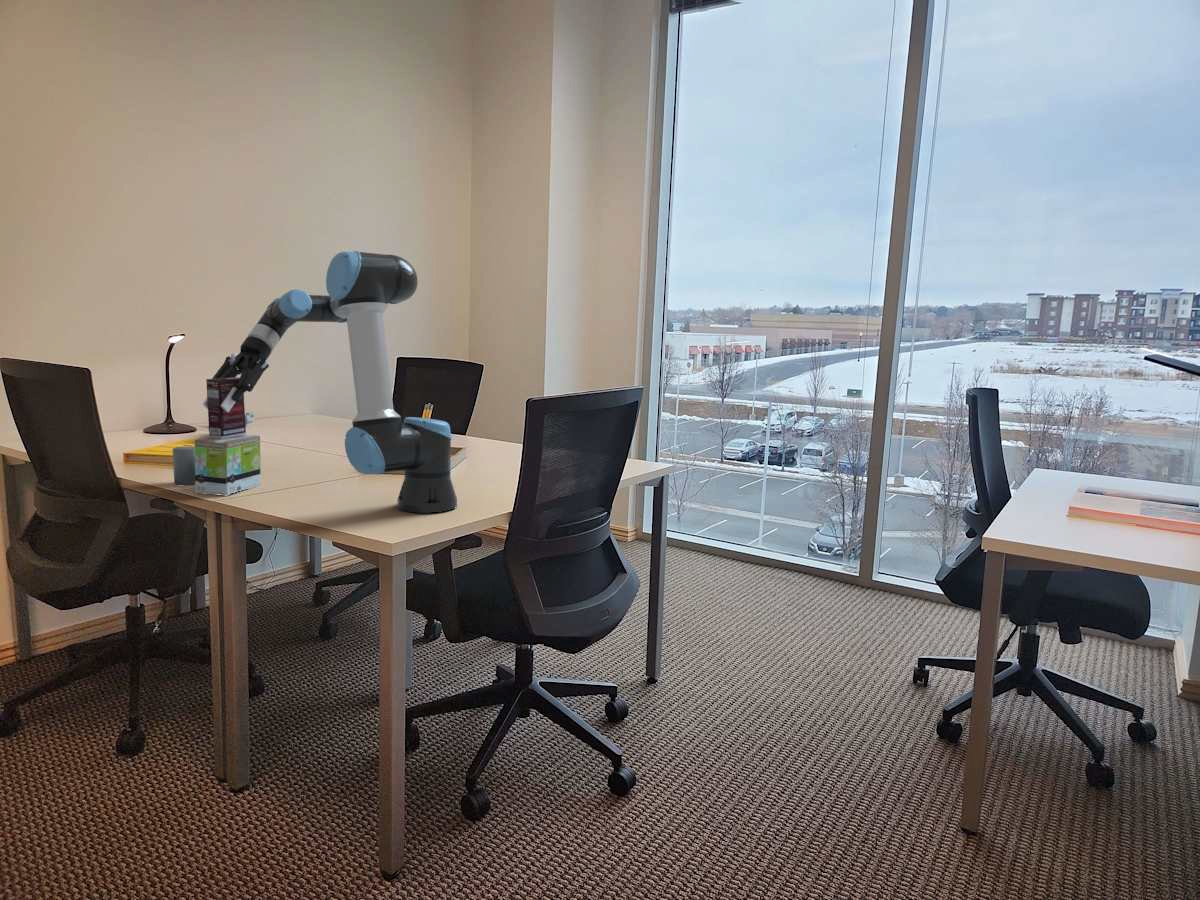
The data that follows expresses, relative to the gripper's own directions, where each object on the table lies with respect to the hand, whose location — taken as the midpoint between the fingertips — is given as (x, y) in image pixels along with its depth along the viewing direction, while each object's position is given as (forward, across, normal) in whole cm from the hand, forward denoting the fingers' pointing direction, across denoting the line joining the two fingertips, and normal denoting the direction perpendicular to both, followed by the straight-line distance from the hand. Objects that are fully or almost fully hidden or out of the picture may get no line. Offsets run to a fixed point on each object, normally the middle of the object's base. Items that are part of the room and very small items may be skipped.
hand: (215, 407), depth 221 cm
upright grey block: (+14, +15, -19) cm, 28 cm away
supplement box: (+3, 0, -8) cm, 9 cm away
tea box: (+14, 0, -19) cm, 23 cm away
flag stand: (-48, +84, -80) cm, 126 cm away
